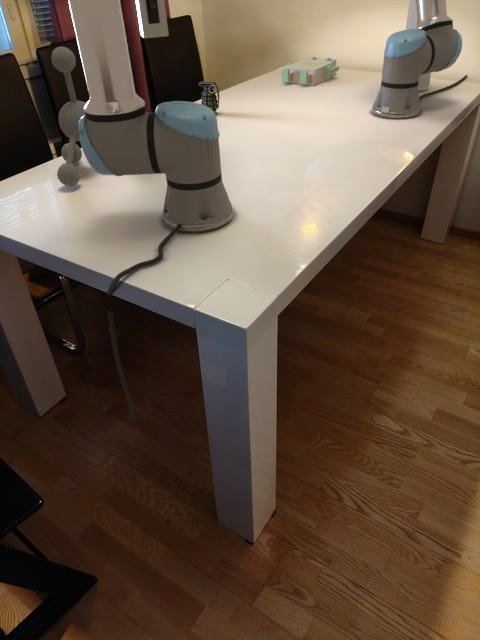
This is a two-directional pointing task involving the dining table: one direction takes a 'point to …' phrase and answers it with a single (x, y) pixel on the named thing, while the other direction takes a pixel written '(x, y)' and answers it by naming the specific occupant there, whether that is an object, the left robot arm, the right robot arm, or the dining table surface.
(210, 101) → the grenade
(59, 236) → the dining table surface
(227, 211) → the left robot arm
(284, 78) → the decorative block
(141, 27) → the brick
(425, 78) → the electronic device
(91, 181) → the dining table surface
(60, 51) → the molecular model
